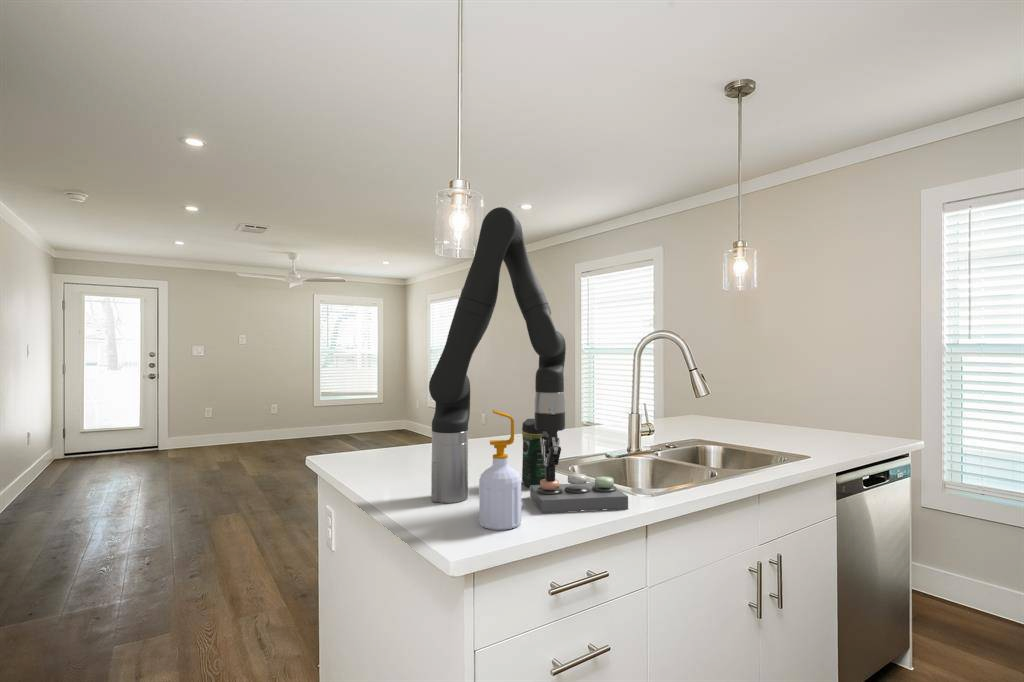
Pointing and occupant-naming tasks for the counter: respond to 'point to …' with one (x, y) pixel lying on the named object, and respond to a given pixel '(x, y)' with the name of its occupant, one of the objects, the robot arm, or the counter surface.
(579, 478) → the white button
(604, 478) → the sage button
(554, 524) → the counter surface
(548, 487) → the terracotta button
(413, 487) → the counter surface
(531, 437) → the coffee jar
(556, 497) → the button panel
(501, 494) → the soap bottle
